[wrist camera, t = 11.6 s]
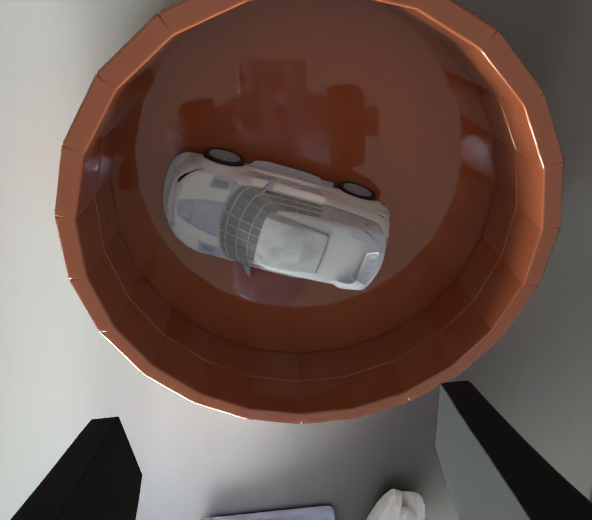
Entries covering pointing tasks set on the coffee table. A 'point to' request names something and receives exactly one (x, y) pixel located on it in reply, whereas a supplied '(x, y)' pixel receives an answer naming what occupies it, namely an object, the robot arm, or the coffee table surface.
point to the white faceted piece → (398, 506)
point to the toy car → (276, 218)
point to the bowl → (328, 167)
